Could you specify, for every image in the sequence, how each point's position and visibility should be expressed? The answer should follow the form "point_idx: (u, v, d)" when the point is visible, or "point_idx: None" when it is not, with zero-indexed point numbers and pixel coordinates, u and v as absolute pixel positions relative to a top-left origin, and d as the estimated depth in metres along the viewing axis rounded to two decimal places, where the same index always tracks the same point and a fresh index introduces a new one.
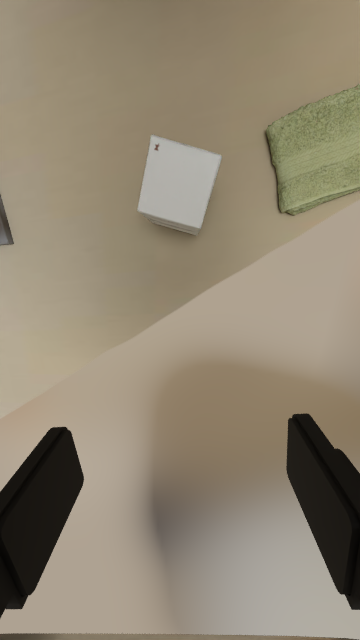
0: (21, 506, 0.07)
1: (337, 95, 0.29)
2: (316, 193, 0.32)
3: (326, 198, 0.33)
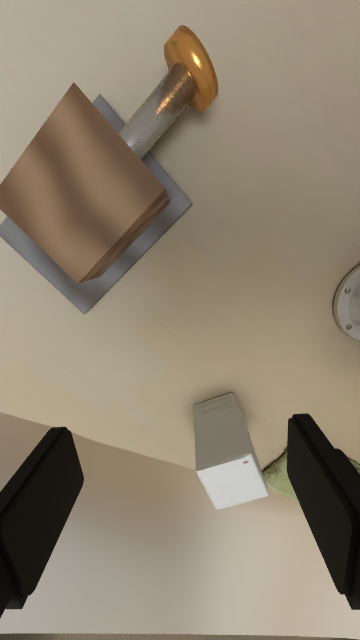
0: (21, 506, 0.07)
1: None
2: (286, 491, 0.42)
3: (288, 496, 0.43)
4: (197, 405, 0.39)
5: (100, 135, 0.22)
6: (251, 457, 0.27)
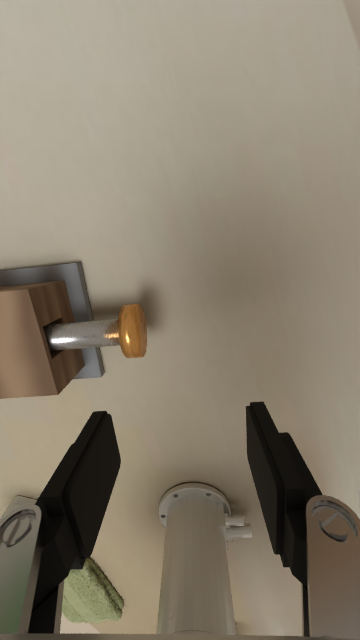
0: (81, 476, 0.08)
1: (104, 597, 0.47)
2: None
3: None
4: (18, 499, 0.42)
5: (27, 332, 0.24)
6: None
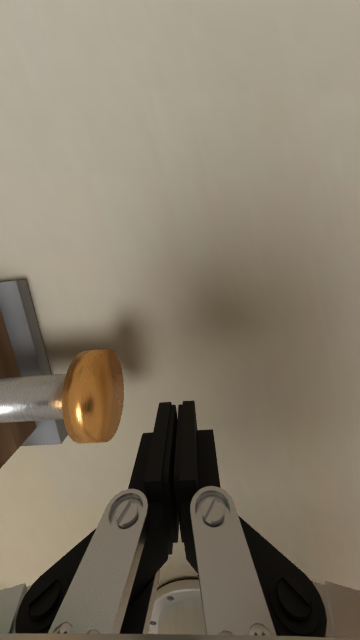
0: (170, 463, 0.08)
1: None
2: None
3: None
4: None
5: None
6: None
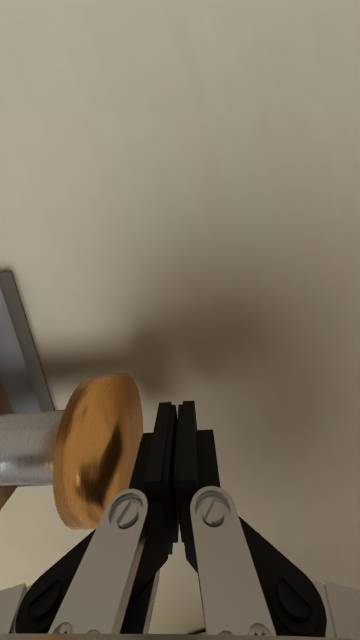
0: (170, 463, 0.08)
1: None
2: None
3: None
4: None
5: None
6: None
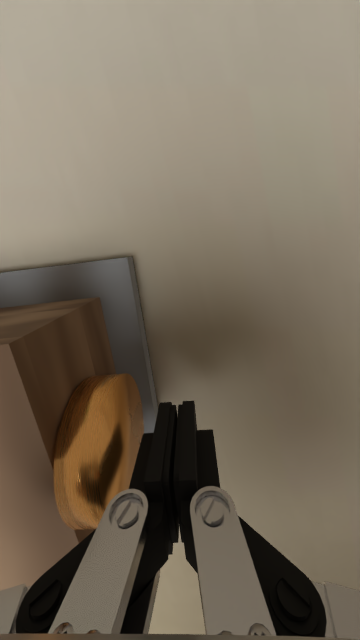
0: (170, 463, 0.08)
1: None
2: None
3: None
4: None
5: (14, 465, 0.08)
6: None
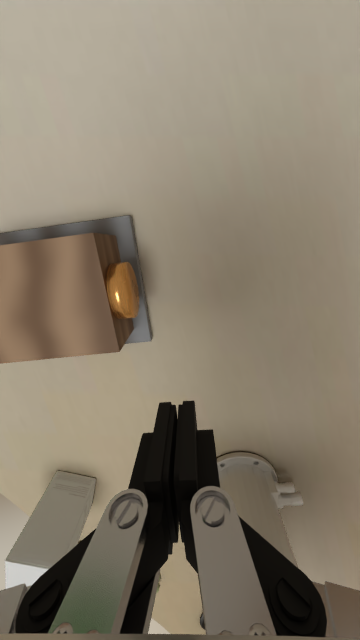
0: (170, 463, 0.08)
1: None
2: None
3: None
4: (59, 474, 0.41)
5: (90, 282, 0.23)
6: None
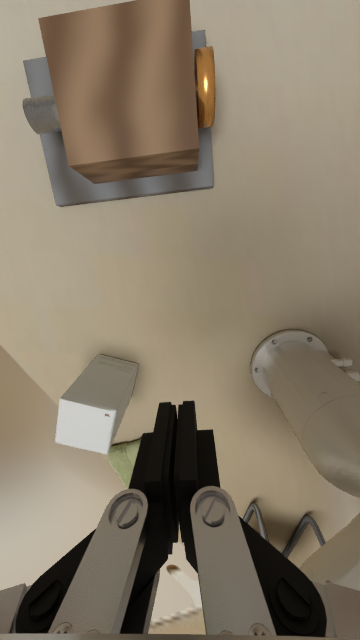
0: (170, 463, 0.08)
1: None
2: (120, 471, 0.45)
3: (119, 476, 0.45)
4: (101, 356, 0.40)
5: (178, 56, 0.22)
6: (114, 414, 0.29)
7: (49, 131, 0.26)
